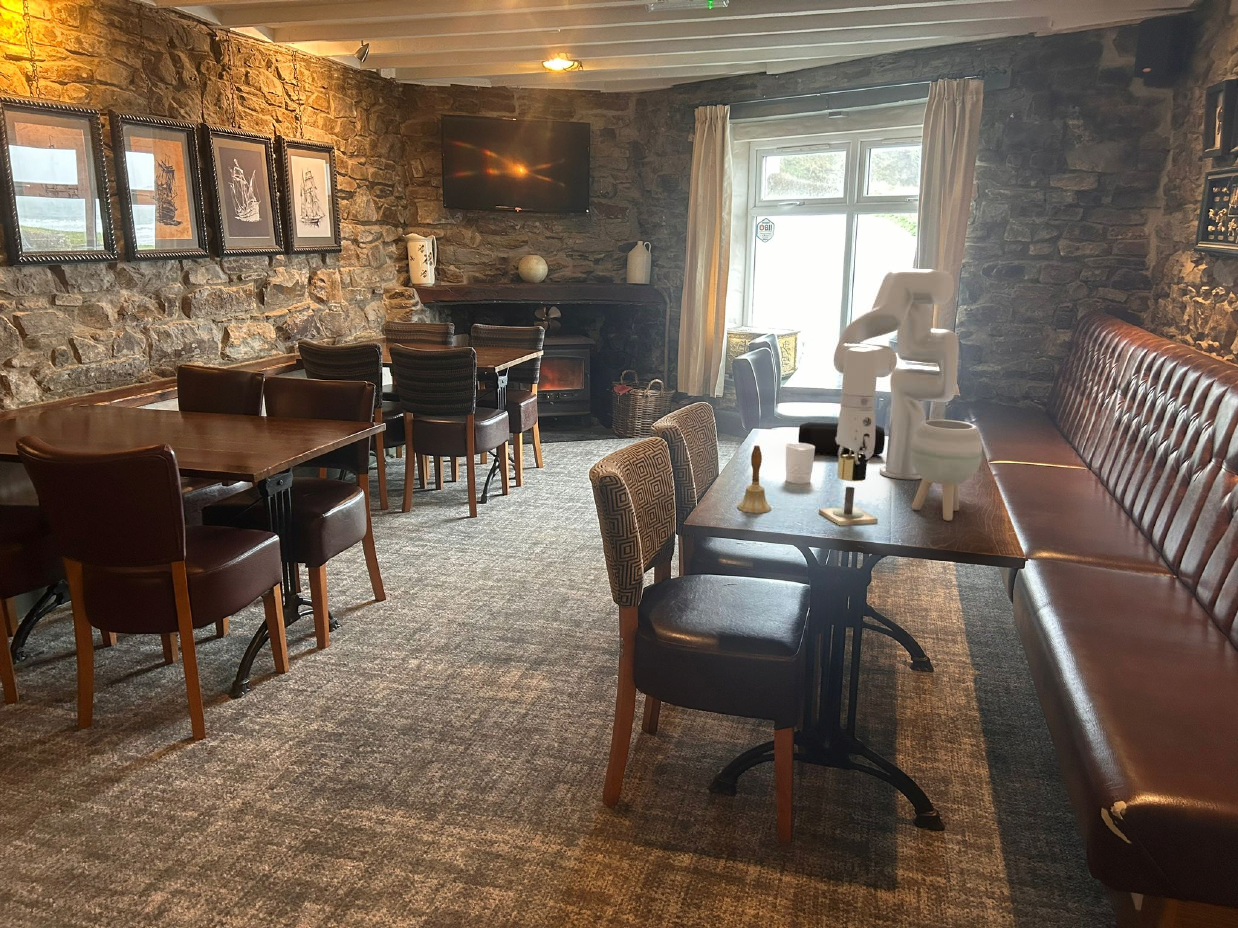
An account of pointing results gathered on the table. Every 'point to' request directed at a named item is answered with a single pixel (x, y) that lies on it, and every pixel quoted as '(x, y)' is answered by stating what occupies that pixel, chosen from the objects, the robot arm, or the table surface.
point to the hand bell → (755, 488)
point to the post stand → (848, 512)
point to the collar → (846, 467)
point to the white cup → (799, 462)
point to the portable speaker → (832, 438)
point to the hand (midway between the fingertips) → (851, 475)
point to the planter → (945, 459)
